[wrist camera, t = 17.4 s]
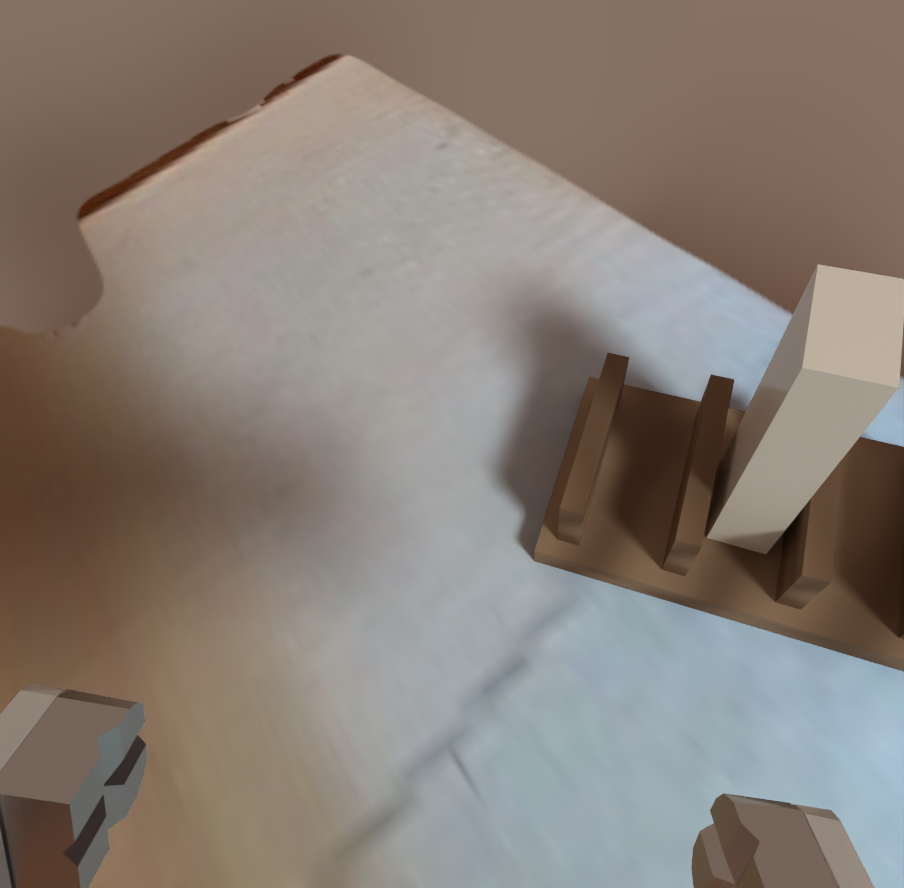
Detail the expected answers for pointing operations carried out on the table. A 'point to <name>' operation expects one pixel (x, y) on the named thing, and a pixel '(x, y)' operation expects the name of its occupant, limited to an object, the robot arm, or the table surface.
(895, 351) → the clay strip
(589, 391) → the drying rack
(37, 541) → the table surface
